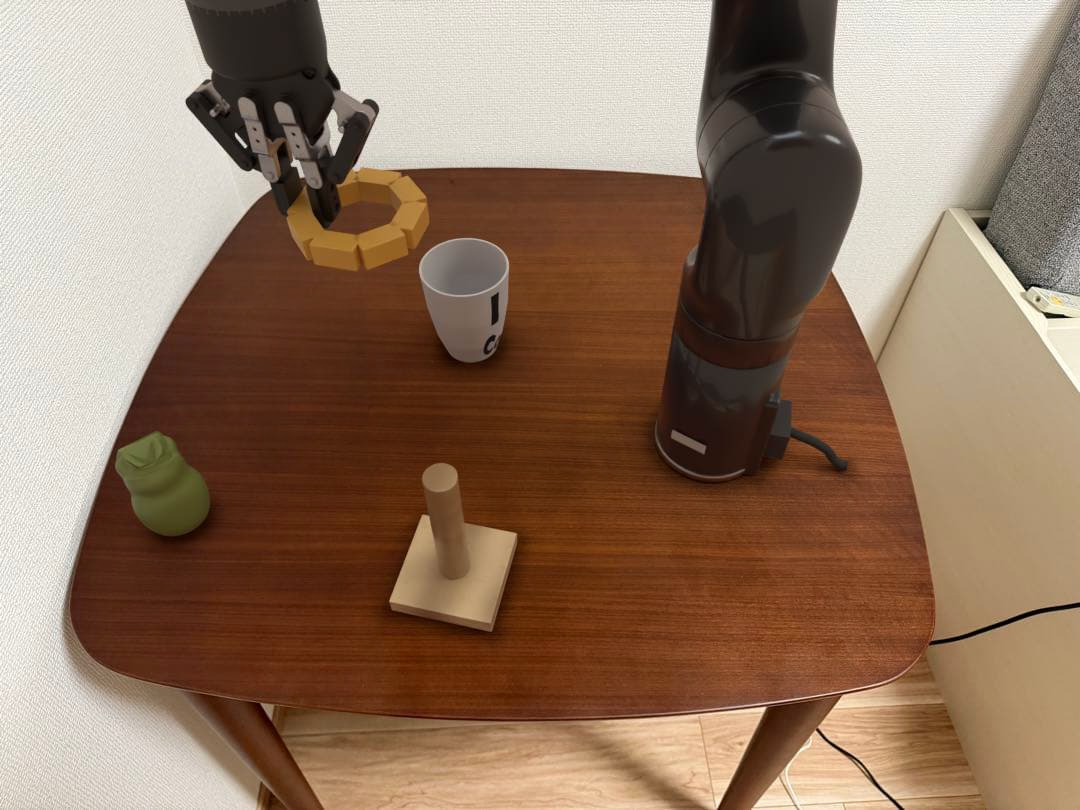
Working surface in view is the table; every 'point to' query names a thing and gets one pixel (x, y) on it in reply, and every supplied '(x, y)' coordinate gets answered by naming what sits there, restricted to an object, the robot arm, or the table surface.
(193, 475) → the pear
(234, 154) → the robot arm
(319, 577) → the table surface
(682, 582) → the table surface
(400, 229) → the ring
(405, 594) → the stand
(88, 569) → the table surface
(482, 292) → the cup
